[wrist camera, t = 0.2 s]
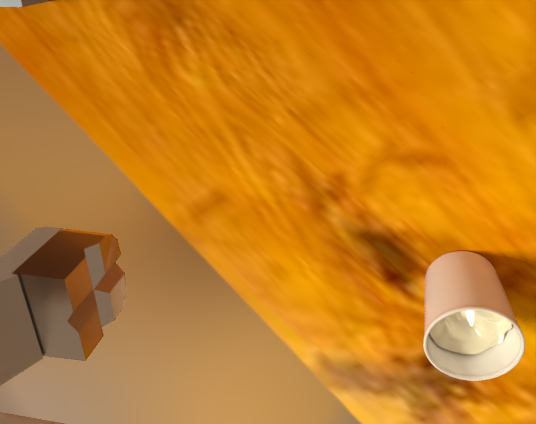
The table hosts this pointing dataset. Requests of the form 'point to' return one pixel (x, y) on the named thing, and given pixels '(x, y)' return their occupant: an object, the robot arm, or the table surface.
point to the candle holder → (469, 319)
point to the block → (20, 3)
